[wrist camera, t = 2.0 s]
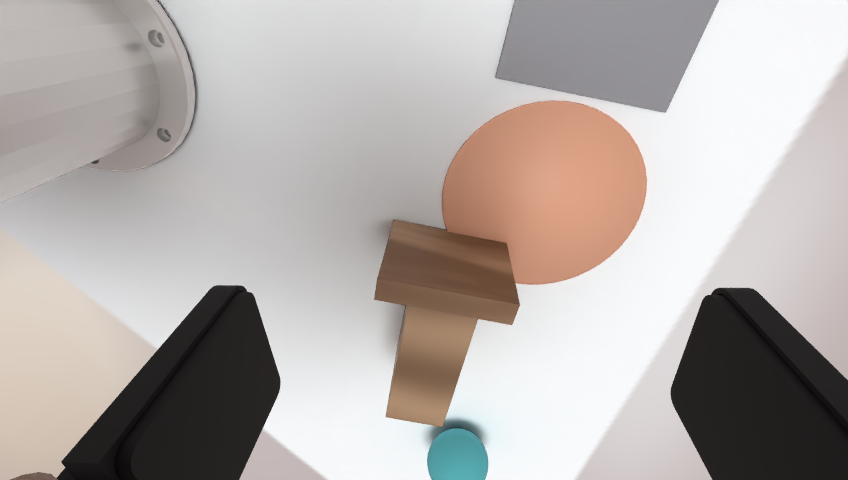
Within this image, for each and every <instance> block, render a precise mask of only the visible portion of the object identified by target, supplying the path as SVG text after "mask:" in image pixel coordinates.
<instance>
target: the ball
mask: <svg viewBox="0 0 848 480" xmlns="http://www.w3.org/2000/svg"><path fill="white" fill-rule="evenodd" d="M427 465H428V471H429V474H430V477H431V479H432V480H485V478H486V475H487V472H488V456H487V453H486V450H485V447H484V445H483V444H482V442H481V441H480V440H479V438H478V437H477V436H475V435H474V434H473V433H471V432H470V431H467V430H465V429H460V428H453V429H449V430H446V431H444V432H442V433H441V434H439V435H438V436H437V437H436V438H435V440H434V441H433V442H432V444H431V446H430V449H429V452H428V458H427Z"/></svg>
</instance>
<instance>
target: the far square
mask: <svg viewBox="0 0 848 480" xmlns="http://www.w3.org/2000/svg"><path fill="white" fill-rule="evenodd" d="M718 1H719V0H515V3H514V7H513V11H512V15H511V18H510V22H509V26H508V30H507V34H506V38H505V42H504V46H503V50H502V54H501V58H500V62H499V65H498V69H497V73H496V78H500V79H505V80H510V81H514V82H519V83H524V84H529V85H534V86H539V87H544V88H548V89H553V90H558V91H563V92H568V93H573V94H577V95H582V96H587V97H592V98H597V99H602V100H607V101H611V102H616V103H621V104H626V105H631V106H636V107H641V108H645V109H650V110H655V111H660V112H665V113H666V111H667V109H668V107H669V105H670V102H671V100H672V98H673V96H674V94H675V92H676V90H677V88H678V86H679V83H680V81H681V79H682V77H683V75H684V73H685V71H686V69H687V66H688V64H689V62H690V60H691V58H692V56H693V54H694V52H695V50H696V47H697V45H698V43H699V41H700V39H701V37H702V35H703V33H704V31H705V28H706V26H707V24H708V22H709V20H710V18H711V16H712V14H713V12H714V9H715V7H716V5H717V3H718Z"/></svg>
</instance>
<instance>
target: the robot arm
mask: <svg viewBox="0 0 848 480" xmlns="http://www.w3.org/2000/svg"><path fill="white" fill-rule="evenodd" d="M162 35H163V37H164V39H163V37H162ZM194 107H195V87H194V80H193V72H192V69H191V66H190V62H189V59H188V56H187V52H186V49H185V47H184V45H183V43H182V41H181V39H180V37H179V35H178V33H177V31H176V28H175V27H174V25H173V24H172V22H171V20H170V19H169V17H168V16H167V14H166V13H165V11H164V10H163V8H162V7H161V5H160V4H159V3H158V2H157V1H156V0H0V203H1V202H4V201H6V200H8V199H10V198H12V197H15V196H17V195H19V194H21V193H24V192H26V191H28V190H30V189H33V188H35V187H37V186H39V185H42V184H44V183H46V182H48V181H51V180H53V179H55V178H57V177H59V176H62V175H64V174H66V173H68V172H71V171H73V170H75V169H77V168H80V167H82V166H84V165H86V166H89V167H93V168H98V169H102V170H107V171H131V170H137V169H143V168H145V167H147V166H150V165H152V164H154V163H157V162H158V161H160V160H162V159H163V158H165V157H167V156H168V155H170V154H171V153H172V152H173V151H174V150H175V149H176V148H177V147H178V146H179V145H180V144H181V143H182V142H183V140H184V138H185V136H186V135H187V133H188V131H189V129H190V126H191V122H192V119H193V115H194ZM279 390H280V376H279V373H278V370H277V367H276V364H275V360H274V357H273V354H272V351H271V348H270V345H269V341H268V338H267V335H266V332H265V329H264V326H263V322H262V319H261V316H260V313H259V310H258V307H257V303H256V300H255V297H254V295H253V294H252V293H250V292H247V290H246V289H245V288H244V287H243V286H224V285H217V286H213V287H212V288H211V289H210V290H209V291H208V292H207V293H206V295H205V296H204V297H203V298H202V299H201V300H200V302H199V303H198V304H197V305H196V306H195V307H194V309H193V310H192V311H191V312H190V313H189V314H188V316H187V317H186V318H185V319H184V320H183V321H182V322H181V324H180V325H179V326H178V327H177V328H176V329H175V331H174V332H173V333H172V334H171V335H170V336H169V338H168V339H167V340H166V341H165V342H164V343H163V344H162V346H161V347H160V348H159V349H158V350H157V351H156V353H155V354H154V355H153V356H152V357H151V358H150V360H149V361H148V362H147V363H146V364H145V365H144V366H143V368H142V369H141V370H140V371H139V372H138V374H137V375H136V376H135V377H134V378H133V379H132V380H131V382H130V383H129V384H128V385H127V386H126V387H125V389H124V390H123V391H122V392H121V393H120V394H119V396H118V397H117V398H116V399H115V400H114V401H113V402H112V404H111V405H110V406H109V407H108V408H107V409H106V411H105V412H104V413H103V414H102V415H101V416H100V417H99V419H98V420H97V421H96V422H95V423H94V425H93V426H92V427H91V428H90V429H89V430H88V431H87V433H86V434H85V435H84V436H83V437H82V438H81V439H80V441H79V442H78V443H77V444H76V446H75V447H74V448H73V449H72V450H71V451H70V452H69V453H68V455H67V456H66V457H65V458H64V459H63V460H62V464H63V465H64V466H65V467H66V468H65V469H64V470H63V471H62V472H61V473H60V475H59V476H58V477H57V478H55V477H54V476H53V475H52V474H47V473H41V472H37V473H32V474H26V475H21V476H19V477H16V478H13V479H11V480H239V479H240V476H241V474H242V472H243V470H244V468H245V465H246V463H247V461H248V459H249V457H250V455H251V452H252V450H253V448H254V446H255V444H256V442H257V439H258V437H259V435H260V433H261V431H262V429H263V426H264V424H265V422H266V420H267V418H268V416H269V413H270V411H271V409H272V407H273V405H274V403H275V400H276V398H277V396H278V393H279ZM671 399H672V403H673V405H674V408H675V410H676V411H677V413H678V415H679V417H680V419H681V421H682V423H683V425H684V427H685V428H686V430H687V432H688V434H689V436H690V438H691V440H692V442H693V444H694V446H695V447H696V449H697V451H698V453H699V455H700V457H701V459H702V461H703V463H704V464H705V466H706V468H707V470H708V472H709V474H710V476H711V478H712V480H848V380H847V379H846V378H845V377H844V376H843V375H842V374H841V373H840V372H839V371H838V370H837V369H836V368H835V367H834V366H833V365H832V364H830V363H829V361H828V360H827V359H826V358H824V357H823V356H822V355H821V354H820V353H819V352H818V351H817V350H816V349H815V348H814V347H813V346H812V345H811V344H810V343H809V342H808V341H807V340H806V339H805V338H804V337H803V336H802V335H801V334H800V333H799V332H798V331H797V330H796V329H795V328H794V327H793V326H792V325H791V324H790V323H788V321H787V320H786V319H785V318H784V317H782V315H781V314H780V313H778V311H777V310H775V309H774V308H773V307H772V306H771V305H770V304H769V303H768V302H767V301H766V300H765V299H764V298H763V297H762V296H761V295H760V294H759V293H758V292H757V291H755V290H754V289H750V288H717V289H715V290H714V291H713V292H712V294H711V295H707V296H705V298H704V299H703V301H702V303H701V306H700V309H699V312H698V314H697V317H696V320H695V322H694V325H693V328H692V331H691V334H690V336H689V339H688V342H687V345H686V348H685V350H684V353H683V356H682V359H681V361H680V364H679V367H678V370H677V373H676V375H675V378H674V381H673V384H672V387H671Z"/></svg>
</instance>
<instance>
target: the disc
mask: <svg viewBox="0 0 848 480" xmlns="http://www.w3.org/2000/svg"><path fill="white" fill-rule="evenodd" d="M646 186H647V178H646V169H645V165H644V161H643V158H642V155H641V153H640V151H639V148H638V146H637V144H636V143H635V141H634V140H633V138H632V137H631V136H630V134H629V133H628V132H627V131H626V130H625V129H624V128H623V127H622V126H621V125H620V124H619V123H618V122H616V121H615V120H614V119H612V118H611V117H610V116H608V115H606V114H604V113H603V112H601V111H599V110H597V109H594V108H591V107H589V106H586V105H583V104H578V103H573V102H565V101H545V102H537V103H532V104H527V105H523V106H520V107H517V108H514V109H511V110H509V111H507V112H505V113H503V114H501V115H499V116H496V117H495V118H493V119H492V120H490V121H489V122H487V123H486V124H484V125H483V126H482V127H481V128H479V129H478V130H477V131H476V132H475V133H474V134H473V135H472V136H471V137H470V138H469V139H468V140H467V141H466V142H465V143H464V144H463V146H462V147H461V149H460V150H459V151H458V153H457V154H456V156H455V158H454V160H453V162H452V163H451V165H450V168H449V170H448V173H447V176H446V179H445V183H444V188H443V197H442V209H443V217H444V222H445V226H446V229H447V231H448V232H452V233H457V234H462V235H468V236H473V237H478V238H483V239H488V240H494V241H499V242H504V243H507V246H508V251H509V256H510V261H511V265H512V270H513V275H514V280H515V283H518V284H530V285H532V284H548V283H555V282H559V281H563V280H567V279H570V278H573V277H576V276H578V275H580V274H583V273H585V272H587V271H589V270H591V269H592V268H594V267H596V266H597V265H599V264H601V263H602V262H603V261H605V260H606V259H607V258H609V257H610V256H611V255H612V254H613V253H614V252H615V251H616V250H617V249H618V248H619V247H620V246H621V245H622V244H623V243H624V242H625V240H626V239H627V238H628V236H629V235H630V233H631V232H632V230H633V229H634V227H635V225H636V223H637V221H638V219H639V217H640V215H641V212H642V209H643V206H644V201H645V196H646Z"/></svg>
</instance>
